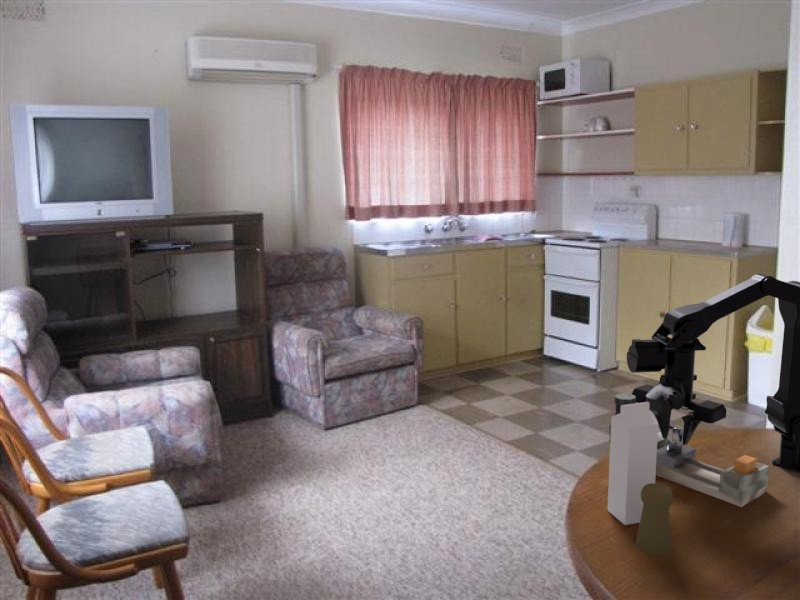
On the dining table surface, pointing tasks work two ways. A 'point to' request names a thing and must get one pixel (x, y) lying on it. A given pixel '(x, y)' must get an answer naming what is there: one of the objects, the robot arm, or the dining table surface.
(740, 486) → the rail track
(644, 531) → the olive pawn
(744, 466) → the orange block
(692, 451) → the carriage
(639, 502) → the milk
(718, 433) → the dining table surface
